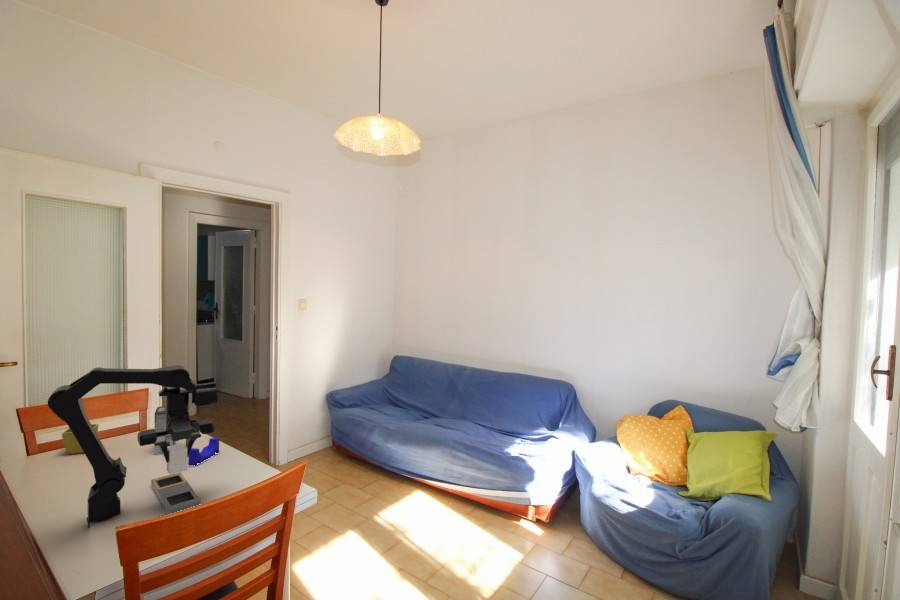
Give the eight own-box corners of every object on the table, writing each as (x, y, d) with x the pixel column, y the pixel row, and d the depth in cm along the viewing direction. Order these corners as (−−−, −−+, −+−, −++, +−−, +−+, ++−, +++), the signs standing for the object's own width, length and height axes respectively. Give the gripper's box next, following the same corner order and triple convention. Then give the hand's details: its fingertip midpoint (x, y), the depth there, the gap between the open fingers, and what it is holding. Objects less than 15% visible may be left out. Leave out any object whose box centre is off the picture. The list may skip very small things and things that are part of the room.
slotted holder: (168, 520, 117) (168, 509, 117) (151, 488, 134) (151, 479, 134) (200, 510, 123) (200, 499, 122) (180, 481, 140) (180, 472, 140)
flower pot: (70, 448, 163) (70, 425, 163) (99, 445, 167) (98, 423, 167) (61, 457, 155) (61, 433, 155) (91, 453, 159) (91, 430, 159)
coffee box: (157, 446, 168) (157, 406, 167) (176, 444, 171) (176, 404, 170) (153, 454, 160) (153, 413, 159) (173, 452, 163) (174, 411, 162)
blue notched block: (208, 452, 164) (208, 437, 163) (219, 453, 163) (219, 438, 163) (184, 465, 152) (184, 449, 152) (195, 466, 151) (195, 450, 151)
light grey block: (169, 474, 123) (169, 451, 123) (166, 469, 126) (166, 446, 126) (187, 470, 126) (187, 447, 126) (184, 465, 129) (184, 443, 129)
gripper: (142, 421, 113) (142, 478, 114) (219, 409, 126) (218, 460, 126) (137, 411, 122) (137, 464, 122) (209, 401, 134) (209, 449, 135)
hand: (176, 460), depth 126 cm, fingers closed on light grey block, 4 cm apart
